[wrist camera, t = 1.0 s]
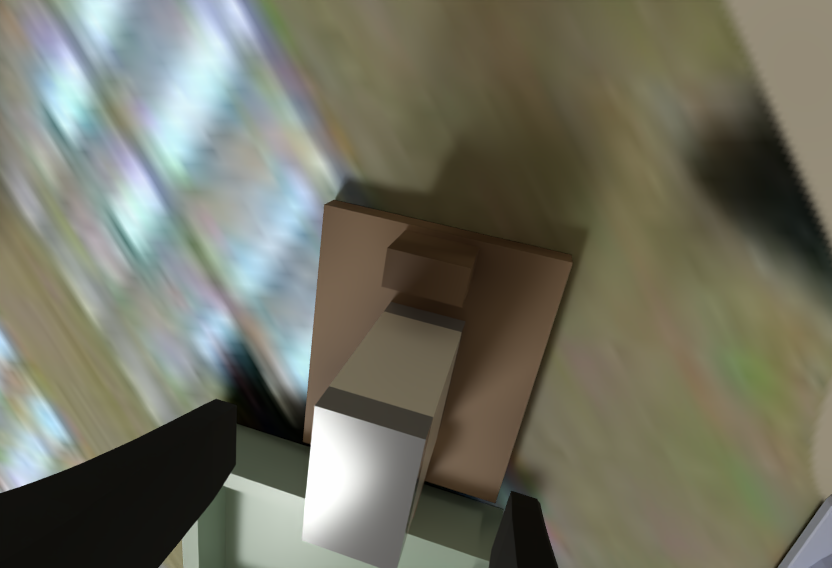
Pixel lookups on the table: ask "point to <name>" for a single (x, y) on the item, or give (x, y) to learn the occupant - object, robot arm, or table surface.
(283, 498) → the parts tray
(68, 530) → the robot arm
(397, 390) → the block
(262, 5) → the table surface
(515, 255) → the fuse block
